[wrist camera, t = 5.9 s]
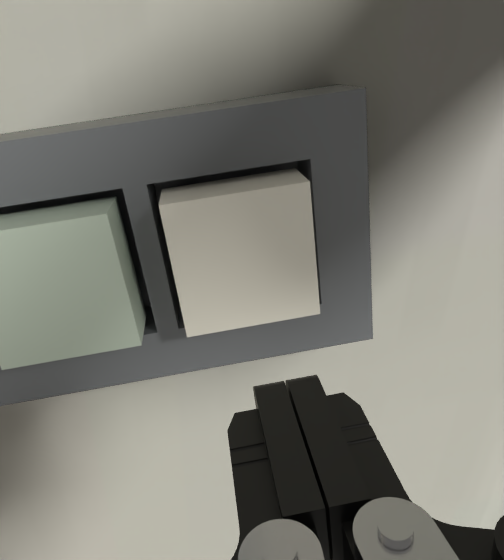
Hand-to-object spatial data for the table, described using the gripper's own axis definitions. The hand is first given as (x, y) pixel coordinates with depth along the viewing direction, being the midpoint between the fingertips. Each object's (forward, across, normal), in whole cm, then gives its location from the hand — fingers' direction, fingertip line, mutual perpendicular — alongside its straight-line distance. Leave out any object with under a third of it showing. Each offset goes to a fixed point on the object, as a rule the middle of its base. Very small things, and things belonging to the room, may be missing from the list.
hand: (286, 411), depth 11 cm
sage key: (+13, +8, 0) cm, 15 cm away
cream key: (+12, 0, 0) cm, 12 cm away
